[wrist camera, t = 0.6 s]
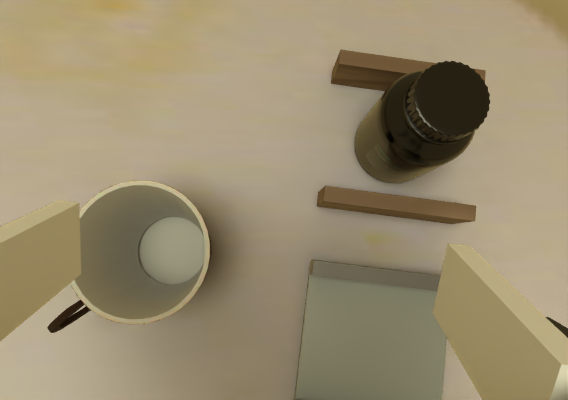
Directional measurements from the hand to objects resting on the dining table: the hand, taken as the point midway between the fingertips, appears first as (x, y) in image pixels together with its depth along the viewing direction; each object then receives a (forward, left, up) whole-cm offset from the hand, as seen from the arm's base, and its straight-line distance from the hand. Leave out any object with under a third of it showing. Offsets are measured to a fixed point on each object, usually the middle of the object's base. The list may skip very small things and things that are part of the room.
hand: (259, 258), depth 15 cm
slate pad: (-6, -10, -21) cm, 24 cm away
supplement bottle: (+11, -10, -21) cm, 26 cm away
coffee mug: (-1, +9, -21) cm, 23 cm away
